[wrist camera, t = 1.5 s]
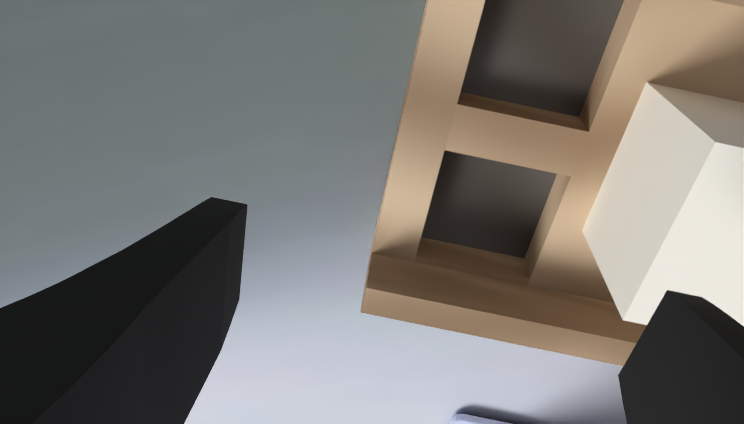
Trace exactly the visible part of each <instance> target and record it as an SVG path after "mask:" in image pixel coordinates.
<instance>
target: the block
mask: <svg viewBox="0 0 744 424" xmlns="http://www.w3.org/2000/svg"><path fill="white" fill-rule="evenodd" d="M582 231H583V234H584V236H585V238H586V240H587V243H588V245H589V247H590V249H591V251H592V254H593V256H594V258H595V260H596V262H597V265H598V267H599V269H600V271H601V273H602V276H603V278H604V280H605V282H606V285H607V287H608V289H609V291H610V293H611V296H612V298H613V300H614V302H615V304H616V307H617V309H618V311H619V313H620V316H621V318H622V320H624V321H629V322H634V323H639V324H643V325H647V324H648V322H649V321H650V319H651V317H652V315H653V314H654V312H655V310H656V308H657V307H658V305H659V303H660V301H661V300H662V298H663V296H664V294H665V293H666V291H667V290H670V291H675V292H680V293H684V294H689V295H694V296H699V297H703V298H704V299H706V300H708V301H709V302H711V303H712V304H714V305H715V306H717V307H718V308H720V309H721V310H722V311H724V312H725V313H726V314H728V315H729V316H731V317H732V318H733V319H735V320H736V321H737V322H738V323H740V324H741V325H742V326H744V103H743V102H738V101H734V100H729V99H724V98H719V97H715V96H710V95H705V94H701V93H696V92H691V91H686V90H682V89H677V88H672V87H668V86H663V85H658V84H653V83H649V82H646V84H645V87H644V89H643V91H642V93H641V96H640V98H639V100H638V103H637V105H636V107H635V110H634V112H633V114H632V116H631V119H630V121H629V123H628V126H627V128H626V130H625V133H624V135H623V137H622V140H621V142H620V144H619V146H618V149H617V151H616V153H615V156H614V158H613V160H612V163H611V165H610V167H609V170H608V172H607V174H606V176H605V179H604V181H603V183H602V186H601V188H600V190H599V193H598V195H597V197H596V199H595V202H594V204H593V206H592V209H591V211H590V213H589V216H588V218H587V220H586V223H585V225H584V227H583V229H582Z"/></svg>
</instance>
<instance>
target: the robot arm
mask: <svg viewBox="0 0 744 424" xmlns="http://www.w3.org/2000/svg"><path fill="white" fill-rule="evenodd" d="M246 215H247V204H243V203H238V202H233V201H228V200H223V199H218V198H213V197H211V198H209V199H207V200H206V201H204V202H202V203H200V204H199V205H197V206H195V207H194V208H192V209H191V210H189V211H187V212H186V213H184V214H182V215H181V216H179V217H177V218H176V219H174V220H173V221H171V222H169V223H168V224H166V225H164V226H163V227H161V228H159V229H158V230H156V231H154V232H153V233H151V234H149V235H147V236H146V237H144V238H142V239H141V240H139V241H137V242H135V243H134V244H132V245H130V246H129V247H127V248H125V249H123V250H122V251H120V252H118V253H116V254H114V255H112V256H110V257H108V258H106V259H104V260H102V261H100V262H98V263H96V264H94V265H93V266H91V267H89V268H87V269H85V270H83V271H81V272H79V273H77V274H75V275H73V276H71V277H69V278H67V279H65V280H63V281H61V282H59V283H57V284H55V285H53V286H51V287H49V288H46V289H44V290H42V291H40V292H37V293H35V294H33V295H31V296H28V297H26V298H24V299H21V300H19V301H16V302H14V303H12V304H9V305H7V306H4V307H2V308H0V424H184V422H185V420H186V418H187V417H188V415H189V413H190V411H191V409H192V407H193V405H194V403H195V401H196V399H197V397H198V395H199V393H200V391H201V389H202V387H203V385H204V383H205V381H206V379H207V377H208V375H209V373H210V371H211V369H212V367H213V365H214V363H215V361H216V359H217V357H218V355H219V353H220V351H221V349H222V346H223V343H224V341H225V338H226V335H227V332H228V330H229V327H230V324H231V321H232V318H233V316H234V313H235V310H236V307H237V304H238V301H239V295H240V284H241V272H242V261H243V249H244V238H245V227H246ZM618 376H619V382H620V388H621V394H622V399H623V405H624V410H625V415H626V419H627V424H744V326H742V325H741V324H740V323H738V322H737V321H736V320H735V319H733V318H732V317H731V316H729V315H728V314H726V313H725V312H724V311H722V310H721V309H720V308H718V307H717V306H715V305H714V304H712V303H711V302H709V301H708V300H706V299H704V298H703V297H699V296H694V295H689V294H684V293H680V292H675V291H670V290H667V291H666V293H665V294H664V296H663V298H662V300H661V301H660V303H659V305H658V307H657V308H656V310H655V312H654V314H653V315H652V317H651V319H650V321H649V322H648V324H647V326H646V328H645V329H644V331H643V333H642V335H641V336H640V338H639V340H638V342H637V343H636V345H635V347H634V349H633V350H632V352H631V354H630V356H629V357H628V359H627V361H626V363H625V364H624V366H623V368H622V370H621V371H620V373H619V375H618ZM449 424H511V423H507V422H502V421H497V420H492V419H487V418H482V417H477V416H472V415H467V414H457V415H455V416H453V417H452V418H451V420H450V423H449Z"/></svg>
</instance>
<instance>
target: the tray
mask: <svg viewBox="0 0 744 424" xmlns="http://www.w3.org/2000/svg"><path fill="white" fill-rule="evenodd" d="M646 82H649V83H653V84H658V85H663V86H668V87H672V88H677V89H682V90H686V91H691V92H696V93H701V94H705V95H710V96H715V97H719V98H724V99H729V100H734V101H738V102H743V103H744V0H427V1H426V5H425V10H424V14H423V19H422V23H421V28H420V32H419V37H418V41H417V46H416V50H415V55H414V59H413V64H412V68H411V73H410V77H409V82H408V86H407V91H406V95H405V99H404V104H403V108H402V113H401V117H400V122H399V126H398V131H397V135H396V140H395V144H394V149H393V153H392V158H391V162H390V167H389V171H388V176H387V180H386V185H385V189H384V194H383V198H382V203H381V207H380V212H379V216H378V221H377V225H376V230H375V234H374V238H373V243H372V247H371V252H370V258H369V264H368V270H367V276H366V282H365V288H364V294H363V300H362V306H361V312H362V313H367V314H372V315H377V316H382V317H386V318H391V319H396V320H401V321H406V322H411V323H416V324H421V325H426V326H430V327H435V328H440V329H445V330H450V331H455V332H460V333H465V334H469V335H474V336H479V337H484V338H489V339H494V340H499V341H504V342H509V343H513V344H518V345H523V346H528V347H533V348H538V349H543V350H548V351H553V352H557V353H562V354H567V355H572V356H577V357H582V358H587V359H592V360H597V361H601V362H606V363H611V364H616V365H621V366H624V364H625V363H626V361H627V359H628V357H629V356H630V354H631V352H632V350H633V349H634V347H635V345H636V343H637V342H638V340H639V338H640V336H641V335H642V333H643V331H644V329H645V328H646V326H647V325H643V324H639V323H634V322H629V321H624V320H622V318H621V316H620V313H619V311H618V309H617V307H616V304H615V302H614V300H613V298H612V296H611V293H610V291H609V289H608V287H607V285H606V282H605V280H604V278H603V276H602V273H601V271H600V269H599V267H598V265H597V262H596V260H595V258H594V256H593V254H592V251H591V249H590V247H589V245H588V243H587V240H586V238H585V236H584V234H583V231H582V229H583V227H584V225H585V223H586V220H587V218H588V216H589V213H590V211H591V209H592V206H593V204H594V202H595V199H596V197H597V195H598V193H599V190H600V188H601V186H602V183H603V181H604V179H605V176H606V174H607V172H608V170H609V167H610V165H611V163H612V160H613V158H614V156H615V153H616V151H617V149H618V146H619V144H620V142H621V140H622V137H623V135H624V133H625V130H626V128H627V126H628V123H629V121H630V119H631V116H632V114H633V112H634V110H635V107H636V105H637V103H638V100H639V98H640V96H641V93H642V91H643V89H644V87H645V84H646Z"/></svg>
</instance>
